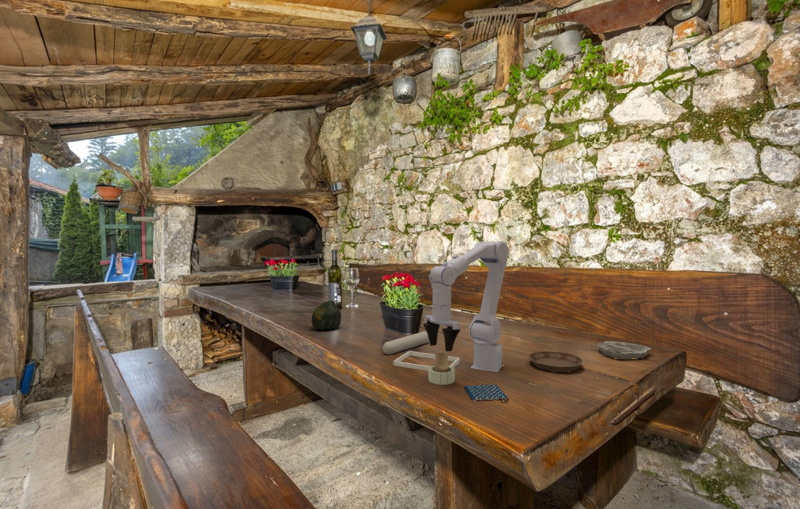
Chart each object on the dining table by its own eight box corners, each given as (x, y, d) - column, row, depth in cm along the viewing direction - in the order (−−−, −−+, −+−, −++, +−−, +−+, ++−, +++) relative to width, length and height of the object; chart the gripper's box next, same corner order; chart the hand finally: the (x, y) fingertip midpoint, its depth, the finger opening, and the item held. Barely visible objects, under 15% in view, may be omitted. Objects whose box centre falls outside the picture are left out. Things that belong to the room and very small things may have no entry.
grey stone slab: (616, 346, 163) (616, 339, 163) (658, 357, 148) (658, 349, 147) (584, 352, 154) (584, 344, 154) (625, 364, 139) (625, 356, 139)
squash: (301, 318, 193) (316, 297, 187) (323, 314, 205) (337, 294, 199) (316, 340, 187) (331, 319, 181) (337, 335, 199) (352, 315, 193)
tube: (390, 347, 147) (431, 334, 165) (381, 340, 150) (422, 328, 169) (387, 359, 148) (428, 345, 167) (378, 352, 152) (419, 339, 170)
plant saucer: (527, 371, 132) (527, 362, 132) (530, 356, 148) (530, 348, 148) (584, 377, 125) (584, 368, 125) (580, 362, 142) (581, 353, 142)
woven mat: (510, 404, 106) (510, 397, 105) (472, 406, 105) (472, 398, 105) (497, 389, 116) (497, 383, 116) (462, 391, 115) (462, 384, 115)
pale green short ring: (457, 379, 123) (457, 367, 123) (449, 388, 116) (449, 374, 116) (433, 375, 127) (433, 363, 126) (424, 383, 119) (424, 371, 119)
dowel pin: (449, 378, 122) (449, 353, 122) (445, 382, 119) (445, 357, 118) (437, 376, 124) (437, 351, 124) (433, 380, 120) (433, 355, 120)
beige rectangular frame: (460, 363, 139) (460, 357, 139) (447, 375, 127) (447, 369, 127) (409, 356, 148) (409, 350, 148) (392, 366, 135) (392, 361, 135)
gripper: (417, 302, 125) (416, 344, 125) (447, 309, 112) (446, 355, 113) (434, 301, 128) (433, 341, 129) (465, 307, 116) (464, 352, 117)
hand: (440, 348), depth 121 cm, fingers open, 7 cm apart
